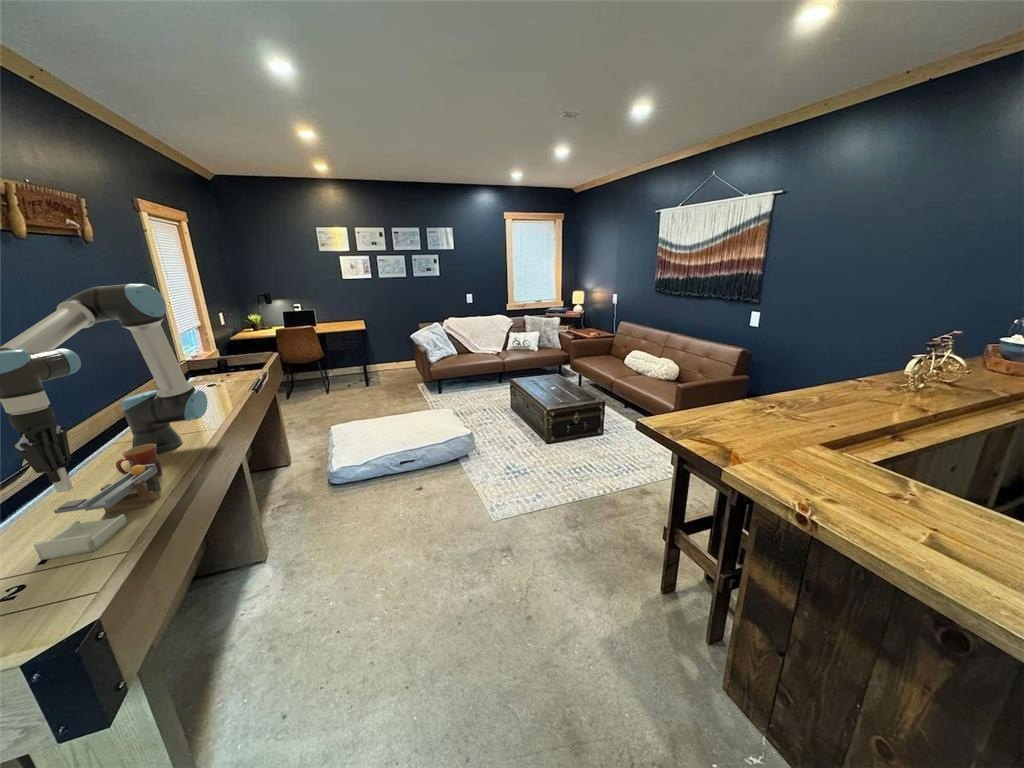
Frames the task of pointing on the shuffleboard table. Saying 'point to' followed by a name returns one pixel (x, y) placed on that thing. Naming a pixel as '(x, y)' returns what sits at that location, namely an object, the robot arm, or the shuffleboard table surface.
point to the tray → (80, 538)
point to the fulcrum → (137, 495)
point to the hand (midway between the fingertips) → (65, 490)
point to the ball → (138, 470)
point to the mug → (140, 457)
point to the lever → (109, 493)
